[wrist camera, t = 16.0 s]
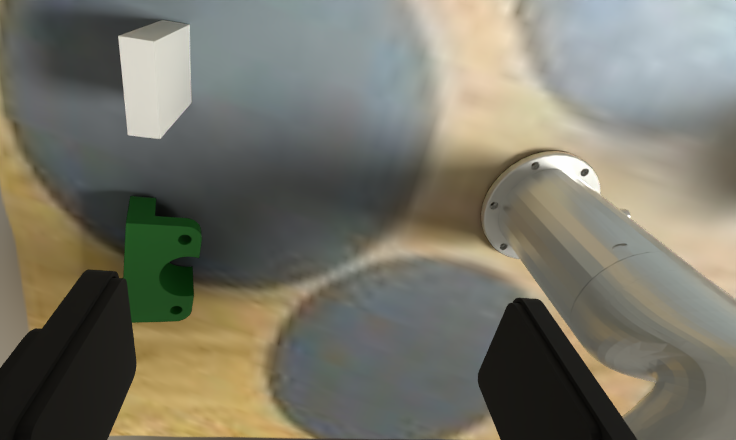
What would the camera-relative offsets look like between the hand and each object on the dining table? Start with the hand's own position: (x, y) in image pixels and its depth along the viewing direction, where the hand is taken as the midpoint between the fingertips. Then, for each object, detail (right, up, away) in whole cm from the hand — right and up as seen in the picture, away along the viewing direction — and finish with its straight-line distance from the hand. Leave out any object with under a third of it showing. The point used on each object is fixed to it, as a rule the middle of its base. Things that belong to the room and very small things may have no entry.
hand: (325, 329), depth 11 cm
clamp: (-19, 0, +33) cm, 38 cm away
